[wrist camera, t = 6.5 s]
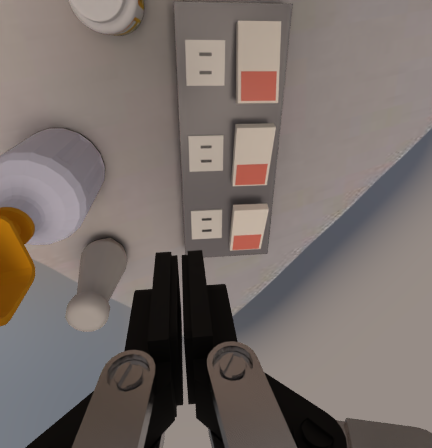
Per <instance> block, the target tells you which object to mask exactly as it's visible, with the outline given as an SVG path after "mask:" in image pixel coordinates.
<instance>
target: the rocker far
mask: <svg viewBox="0 0 432 448" xmlns="http://www.w3.org/2000/svg"><path fill="white" fill-rule="evenodd" d="M268 211H269V208H268V205H267V203H265V204H241V205H233V210H232V220H231V229H230V239H229V248H230V251H233V250H250V249H261V244H262V240H263V235H264V230H265V225H266V221H267V216H268Z"/></svg>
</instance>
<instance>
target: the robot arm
mask: <svg viewBox="0 0 432 448" xmlns="http://www.w3.org/2000/svg"><path fill="white" fill-rule="evenodd" d="M187 252H188V255H182V282H183V320H184V344H185V359H186V374H187V388H188V402H189V404H196V418H197V419H198V420H199V421H201V422H202V423H203V424H204V425H205V426H206V427H208V431H209V437H210V441H211V446H212V448H432V433H430V432H428V431H427V430H424V429H421V428H417V427H411V426H403V425H395V424H388V423H381V422H372V421H365V420H358V419H350V418H346V420H345V422H344V421H337V420H335V419H334V418H333V417H331V416H330V415H329V414H328V413H326V412H325V411H323V410H321V409H320V408H318V407H317V406H315V405H314V404H312V403H311V402H309V401H308V400H306V399H305V398H303V397H302V396H300V395H298V394H297V393H295V392H294V391H292V390H290V389H289V388H288V387H286V386H284V385H283V384H281V383H280V382H278V381H277V380H275V379H274V378H272V377H271V376H269V375H268V374H266V373H264V371H263V369H262V367H261V365H260V362H259V360H258V358H257V356H256V354H255V353H254V351H253V350H252V349H251V348H250V347H248V346H247V345H245V344H243V343H240V342H237V338H236V332H235V328H234V323H233V318H232V313H231V308H230V303H229V298H228V293H227V288H226V285H225V284H219V285H206V277H205V269H204V261H203V253H202V250H194V251H187ZM182 374H183V371H182V320H181V302H180V288H179V274H178V260H177V255H176V256H172V255H171V252H160V253H156V256H155V267H154V277H153V287H152V289H148V290H135V292H134V297H133V303H132V309H131V316H130V321H129V328H128V333H127V339H126V346H125V351H124V352H121V353H119V354H117V355H116V356H114V357H112V358H111V359H110V360H109V361H108V362H107V363H106V365H105V367H104V368H103V370H102V372H101V375H100V377H99V380H98V382H97V385H96V387H95V390H94V391H93V392H92V393H91V394H90V395H88V396H87V397H86V398H85V399H84V400H82V401H81V402H80V403H79V404H78V405H76V406H75V407H74V408H73V409H71V410H70V411H69V412H68V413H67V414H65V415H64V416H63V417H62V418H61V419H59V420H58V421H57V422H56V423H55V424H54V425H52V426H51V427H50V428H49V429H47V430H46V431H45V432H44V433H43V434H41V435H40V436H39V437H38V438H37V439H35V440H34V441H33V442H32V443H30V444H29V445H28V446H27V447H26V448H163V444H164V432H165V430H166V429H167V428H168V427H169V426H170V425H171V424H172V423H173V422H174V420H175V417H176V416H177V411H176V410H177V409H176V407H177V405H183V375H182Z"/></svg>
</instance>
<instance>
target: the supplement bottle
mask: <svg viewBox="0 0 432 448" xmlns="http://www.w3.org/2000/svg"><path fill="white" fill-rule="evenodd" d="M68 1H69V4H70V6H71V8H72V10H73V12H74V13H75V15H76V16H77V18H78V19H79V20H80V21H81V22H82V23H83V24H84V25H86V26H87V27H88V28H90V29H92V30H94V31H96V32H99V33H103V34H109V35H116V36H122V35H127V34H129V33H131V32H133V31H134V30H135V29H136V28H137V27H138V26H139V24H140V23H141V21H142V18H143V14H144V0H68Z"/></svg>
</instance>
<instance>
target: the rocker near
mask: <svg viewBox="0 0 432 448" xmlns="http://www.w3.org/2000/svg"><path fill="white" fill-rule="evenodd" d="M280 43H281V21H238V22H237V24H236V104H275V103H278V97H279V70H280Z"/></svg>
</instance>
